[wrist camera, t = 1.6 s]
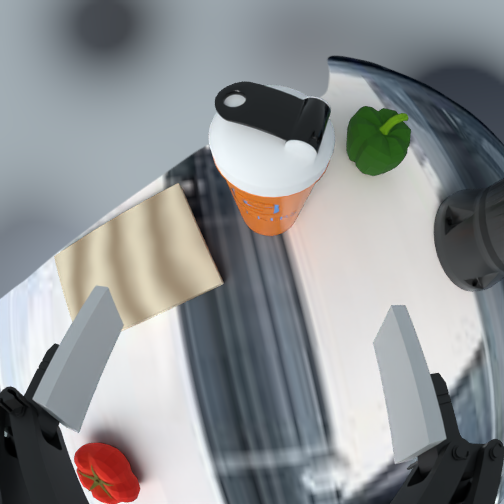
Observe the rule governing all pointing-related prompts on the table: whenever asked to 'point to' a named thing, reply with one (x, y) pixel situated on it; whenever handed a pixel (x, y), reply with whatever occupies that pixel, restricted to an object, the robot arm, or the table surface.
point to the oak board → (141, 260)
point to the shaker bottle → (270, 150)
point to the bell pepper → (377, 140)
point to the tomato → (106, 473)
